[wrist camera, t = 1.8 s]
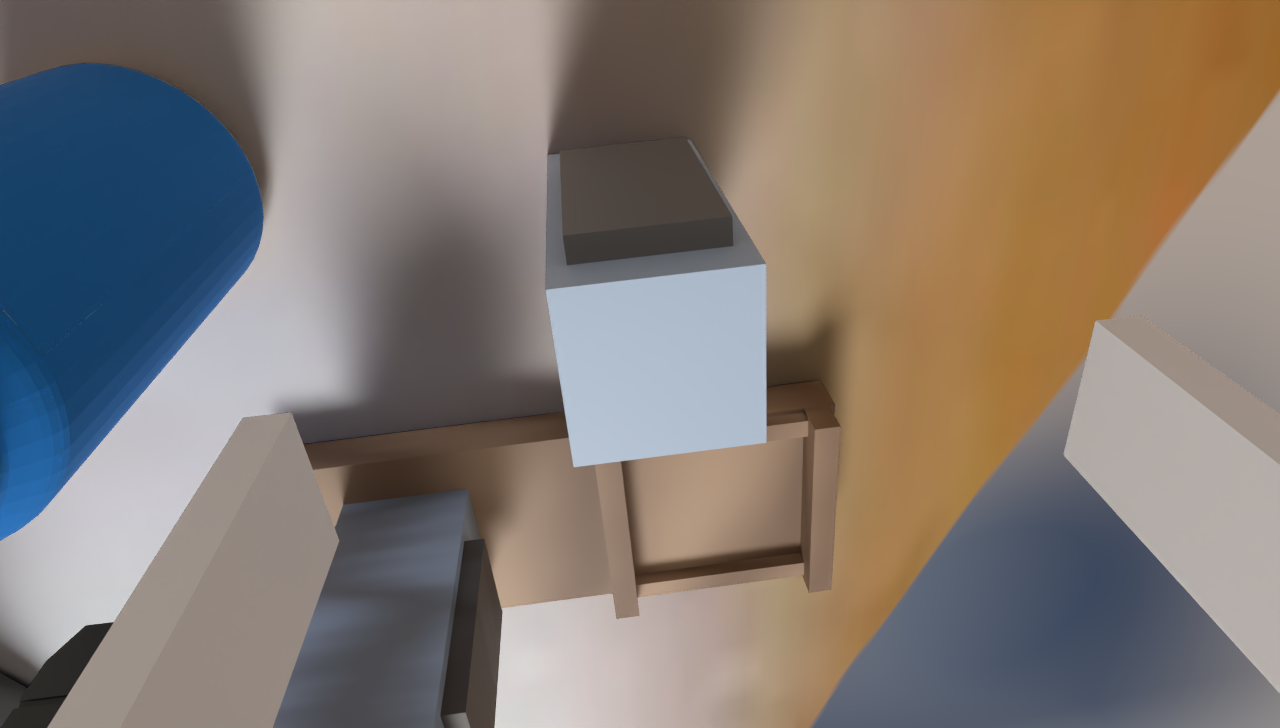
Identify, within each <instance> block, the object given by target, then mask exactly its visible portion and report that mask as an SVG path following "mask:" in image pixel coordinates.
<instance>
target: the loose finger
mask: <svg viewBox="0 0 1280 728" xmlns="http://www.w3.org/2000/svg"><path fill="white" fill-rule="evenodd" d="M545 290H546V296H547V303H548V309H549V315H550V321H551V328H552V334H553V340H554V347H555V353H556V359H557V366H558V372H559V378H560V384H561V391H562V397H563V403H564V410H565V416H566V422H567V429H568V435H569V441H570V447H571V454H572V460H573V466H574V467H580V466H588V465H596V464H604V463H612V462H619V461H627V460H635V459H643V458H651V457H659V456H667V455H674V454H682V453H690V452H698V451H706V450H714V449H722V448H730V447H737V446H745V445H753V444H761V443H766V263H765V261H764V260H763V258H762V256H761V255H760V253H759V251H758V250H757V248H756V246H755V245H754V243H753V242H752V240H751V238H750V237H749V235H748V233H747V232H746V230H745V228H744V227H743V225H742V223H741V222H740V220H739V219H738V217H737V215H736V214H735V212H734V210H733V209H732V207H731V205H730V204H729V202H728V200H727V199H726V197H725V196H724V194H723V192H722V191H721V189H720V187H719V186H718V184H717V182H716V181H715V179H714V177H713V176H712V174H711V173H710V171H709V169H708V168H707V166H706V164H705V163H704V161H703V159H702V158H701V156H700V154H699V153H698V151H697V150H696V148H695V146H694V145H693V143H692V141H691V140H690V139H686V137H679V138H670V139H661V140H652V141H642V142H633V143H624V144H615V145H606V146H597V147H588V148H579V149H570V150H560V153H559V154H550V155H547V220H546V288H545Z"/></svg>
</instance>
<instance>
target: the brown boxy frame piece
mask: <svg viewBox="0 0 1280 728" xmlns="http://www.w3.org/2000/svg"><path fill="white" fill-rule="evenodd" d="M834 410H835V404H834V402H833V401H832V399H831V397H830V395H829V394H828V392H827V390H826V388H825V387H824V385H823V383H822V381H821V380H819V381H811V382H803V383H795V384H787V385H779V386H771V387H766V443H761V444H753V445H745V446H737V447H730V448H722V449H714V450H706V451H698V452H690V453H682V454H674V455H667V456H659V457H651V458H643V459H635V460H627V461H619V462H612V463H604V464H596V465H588V466H580V467H574V466H573V460H572V454H571V447H570V441H569V435H568V429H567V422H566V416H565V412H561V413H553V414H545V415H537V416H529V417H521V418H513V419H505V420H497V421H488V422H480V423H472V424H464V425H456V426H448V427H440V428H432V429H424V430H416V431H408V432H400V433H392V434H384V435H375V436H367V437H359V438H351V439H343V440H335V441H327V442H319V443H311V444H303V445H304V447H305V450H306V453H307V455H308V458H309V461H310V463H311V466H312V469H313V472H314V474H315V477H316V480H317V482H318V485H319V488H320V490H321V493H322V496H323V498H324V501H325V504H326V506H327V509H328V512H329V514H330V517H331V520H332V522H333V525H334V528H335V530H336V533H337V536H338V538H339V543H338V546H337V549H336V551H335V554H334V557H333V560H332V563H331V565H330V568H329V571H328V574H327V577H326V580H325V582H324V585H323V588H322V591H321V594H320V596H319V599H318V602H317V605H316V608H315V610H314V613H313V616H312V619H311V622H310V624H309V627H308V630H307V633H306V636H305V638H304V641H303V644H302V647H301V650H300V652H299V655H298V658H297V661H296V664H295V666H294V669H293V672H292V675H291V678H290V680H289V683H288V686H287V689H286V692H285V694H284V697H283V700H282V703H281V706H280V708H279V711H278V714H277V717H276V720H275V722H274V725H273V728H494V724H495V710H496V696H497V681H498V667H499V653H500V638H501V624H502V609H501V608H505V607H513V606H520V605H528V604H535V603H542V602H550V601H557V600H565V599H572V598H580V597H587V596H595V595H602V594H610V593H613V597H614V604H615V611H616V618H617V619H619V618H626V617H633V616H639V608H638V600H637V597H644V596H652V595H659V594H666V593H674V592H681V591H689V590H696V589H704V588H711V587H719V586H726V585H733V584H741V583H748V582H756V581H763V580H771V579H778V578H785V577H793V576H800V575H803V578H804V581H805V583H806V586H807V589H808V591H809V593H811V592H818V591H825V590H831V588H832V570H833V552H834V534H835V517H836V499H837V481H838V463H839V446H840V428H841V426H840V425H839V423H838V421H837V419H836V418H835V416H834Z"/></svg>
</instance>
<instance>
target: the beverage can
mask: <svg viewBox="0 0 1280 728" xmlns="http://www.w3.org/2000/svg"><path fill="white" fill-rule="evenodd" d="M262 229H263V204H262V198H261V193H260V189H259V185H258V182H257V179H256V176H255V174H254V171H253V169H252V167H251V165H250V163H249V161H248V159H247V157H246V155H245V153H244V152H243V150H242V149H241V147H240V146H239V144H238V142H237V141H236V140H235V138H234V137H233V136H232V135H231V133H230V132H229V131H228V130H227V128H226V127H225V126H224V125H223V124H222V123H221V122H220V121H219V120H218V119H217V118H216V117H215V116H214V115H213V114H212V113H211V112H210V111H209V110H207V109H206V108H205V107H204V106H203V105H201V104H200V103H199V102H198V101H196V100H195V99H194V98H192V97H191V96H189V95H187V94H186V93H184V92H183V91H181V90H180V89H178V88H176V87H174V86H172V85H171V84H169V83H167V82H165V81H163V80H161V79H158V78H156V77H153V76H151V75H148V74H146V73H143V72H140V71H136V70H132V69H129V68H125V67H121V66H114V65H107V64H88V63H82V64H73V65H65V66H61V67H57V68H54V69H50V70H47V71H43V72H40V73H37V74H34V75H31V76H28V77H24V78H21V79H18V80H15V81H12V82H9V83H6V84H2V85H0V540H2V539H3V538H5V537H7V536H9V535H11V534H12V533H14V532H16V531H18V530H19V529H21V528H22V527H24V526H25V525H26V524H27V523H29V522H30V521H31V520H33V519H34V518H35V517H36V516H38V515H39V514H40V513H41V512H42V510H43V509H44V508H45V507H46V506H47V505H48V504H49V503H50V502H51V500H52V499H53V498H54V497H55V496H56V494H57V493H58V492H59V491H60V490H61V489H62V487H63V486H64V485H65V484H66V483H67V481H68V480H69V479H70V478H71V477H72V476H73V474H74V473H75V472H76V471H77V470H78V469H79V467H80V466H81V465H82V464H83V463H84V461H85V460H86V459H87V458H88V457H89V456H90V454H91V453H92V452H93V451H94V450H95V448H96V447H97V446H98V445H99V444H100V443H101V441H102V440H103V439H104V438H105V437H106V435H107V434H108V433H109V432H110V431H111V430H112V428H113V427H114V426H115V425H116V424H117V422H118V421H119V420H120V419H121V418H122V417H123V415H124V414H125V413H126V412H127V411H128V409H129V408H130V407H131V406H132V405H133V404H134V402H135V401H136V400H137V399H138V398H139V396H140V395H141V394H142V393H143V392H144V391H145V389H146V388H147V387H148V386H149V385H150V384H151V382H152V381H153V380H154V379H155V378H156V376H157V375H158V374H159V373H160V372H161V371H162V369H163V368H164V367H165V366H166V365H167V363H168V362H169V361H170V360H171V359H172V358H173V356H174V355H175V354H176V353H177V352H178V350H179V349H180V348H181V347H182V346H183V345H184V343H185V342H186V341H187V340H188V339H189V337H190V336H191V335H192V334H193V333H194V332H195V330H196V329H197V328H198V327H199V326H200V324H201V323H202V322H203V321H204V320H205V319H206V317H207V316H208V315H209V314H210V313H211V311H212V310H213V309H214V308H215V307H216V306H217V304H218V303H219V302H220V301H221V300H222V299H223V297H224V296H225V295H226V294H227V293H228V291H229V290H230V289H231V288H232V287H233V286H234V284H235V283H236V282H237V281H238V280H239V278H240V277H241V276H242V275H243V274H244V273H245V271H246V270H247V269H248V267H249V265H250V264H251V262H252V261H253V259H254V257H255V254H256V252H257V250H258V247H259V244H260V240H261V236H262Z"/></svg>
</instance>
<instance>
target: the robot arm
mask: <svg viewBox="0 0 1280 728" xmlns="http://www.w3.org/2000/svg"><path fill="white" fill-rule="evenodd" d="M1064 456H1065V457H1066V458H1067V459H1068V460H1069V461H1070V463H1071V464H1072V465H1073V466H1074V467H1075V468H1076V469H1077V470H1078V471H1079V473H1080V474H1081V475H1082V476H1083V477H1084V478H1085V479H1086V480H1087V481H1088V482H1089V484H1090V485H1091V486H1092V487H1093V488H1094V489H1095V490H1096V491H1097V492H1098V494H1099V495H1100V496H1101V497H1102V498H1103V499H1104V500H1105V501H1106V502H1107V503H1108V504H1109V506H1110V507H1111V508H1112V509H1113V510H1114V511H1115V512H1116V513H1117V514H1118V516H1119V517H1120V518H1121V519H1122V520H1123V521H1124V522H1125V523H1126V524H1127V525H1128V527H1129V528H1130V529H1131V530H1132V531H1133V532H1134V533H1135V534H1136V535H1137V537H1138V538H1139V539H1140V540H1141V541H1142V542H1143V543H1144V544H1145V545H1146V546H1147V547H1148V549H1149V550H1150V551H1151V552H1152V553H1153V554H1154V555H1155V556H1156V557H1157V559H1158V560H1159V561H1160V562H1161V563H1162V564H1163V565H1164V566H1165V567H1166V568H1167V569H1168V571H1169V572H1170V573H1171V574H1172V575H1173V576H1174V577H1175V578H1176V580H1177V581H1178V582H1179V583H1180V584H1181V585H1182V586H1183V587H1184V588H1185V589H1186V590H1187V592H1188V593H1189V594H1190V595H1191V596H1192V597H1193V598H1194V599H1195V600H1196V601H1197V603H1198V604H1199V605H1200V606H1201V607H1202V608H1203V609H1204V610H1205V612H1206V613H1207V614H1208V615H1209V616H1210V617H1211V618H1212V619H1213V620H1214V621H1215V623H1216V624H1217V625H1218V626H1219V627H1220V628H1221V629H1222V630H1223V631H1224V632H1225V634H1226V635H1227V636H1228V637H1229V638H1230V639H1231V640H1232V641H1233V642H1234V643H1235V645H1236V646H1237V647H1238V648H1239V649H1240V650H1241V651H1242V652H1243V653H1244V654H1245V655H1246V657H1247V658H1248V659H1249V660H1250V661H1251V662H1252V663H1253V664H1254V665H1255V667H1256V668H1257V669H1258V670H1259V671H1260V672H1261V673H1262V674H1263V675H1264V677H1266V679H1267V680H1268V681H1269V682H1270V683H1271V684H1272V685H1273V686H1274V687H1275V689H1276V690H1277V691H1278V692H1279V693H1280V414H1278V413H1277V412H1276V411H1274V410H1273V409H1272V408H1270V407H1269V406H1267V405H1266V404H1265V403H1263V402H1262V401H1260V400H1259V399H1257V398H1256V397H1255V396H1253V395H1252V394H1251V393H1249V392H1248V391H1246V390H1245V389H1243V388H1242V387H1241V386H1239V385H1238V384H1237V383H1235V382H1234V381H1232V380H1231V379H1229V378H1228V377H1227V376H1225V375H1224V374H1222V373H1221V372H1220V371H1218V370H1217V369H1215V368H1214V367H1212V366H1211V365H1210V364H1208V363H1207V362H1205V361H1204V360H1203V359H1201V358H1200V357H1199V356H1197V355H1196V354H1194V353H1193V352H1192V351H1190V350H1189V349H1187V348H1186V347H1184V346H1183V345H1182V344H1180V343H1179V342H1177V341H1176V340H1175V339H1173V338H1172V337H1170V336H1169V335H1168V334H1166V333H1165V332H1163V331H1162V330H1161V329H1159V328H1158V327H1156V326H1155V325H1154V324H1152V323H1151V322H1149V321H1148V320H1147V319H1145V318H1144V317H1142V316H1133V317H1125V318H1116V319H1107V320H1098V321H1095V325H1094V330H1093V334H1092V338H1091V342H1090V346H1089V351H1088V355H1087V359H1086V363H1085V367H1084V371H1083V376H1082V380H1081V384H1080V388H1079V393H1078V396H1077V401H1076V405H1075V409H1074V413H1073V417H1072V422H1071V426H1070V430H1069V434H1068V438H1067V442H1066V447H1065V451H1064ZM338 543H339V538H338V536H337V533H336V530H335V528H334V525H333V522H332V520H331V517H330V514H329V512H328V509H327V506H326V504H325V501H324V498H323V496H322V493H321V490H320V488H319V485H318V482H317V480H316V477H315V474H314V472H313V469H312V466H311V463H310V461H309V458H308V455H307V453H306V450H305V447H304V445H303V442H302V439H301V437H300V434H299V431H298V429H297V426H296V423H295V421H294V418H293V415H292V413H291V412H289V413H280V414H271V415H263V416H254V417H245V418H242V420H241V422H240V423H239V425H238V426H237V428H236V430H235V431H234V433H233V434H232V436H231V437H230V439H229V441H228V442H227V444H226V445H225V447H224V449H223V450H222V452H221V453H220V455H219V457H218V458H217V460H216V461H215V463H214V464H213V466H212V468H211V469H210V471H209V472H208V474H207V476H206V477H205V479H204V480H203V482H202V483H201V485H200V487H199V488H198V490H197V491H196V493H195V495H194V496H193V498H192V499H191V501H190V502H189V504H188V506H187V507H186V509H185V510H184V512H183V514H182V515H181V517H180V518H179V520H178V521H177V523H176V525H175V526H174V528H173V529H172V531H171V533H170V534H169V536H168V537H167V539H166V540H165V542H164V544H163V545H162V547H161V548H160V550H159V552H158V553H157V555H156V556H155V558H154V560H153V561H152V563H151V564H150V566H149V567H148V569H147V571H146V572H145V574H144V575H143V577H142V579H141V580H140V582H139V583H138V585H137V586H136V588H135V590H134V591H133V593H132V594H131V596H130V598H129V599H128V601H127V602H126V604H125V605H124V607H123V609H122V610H121V612H120V613H119V615H118V617H117V618H116V620H115V621H114V622H112V623H103V624H95V625H87V626H85V627H84V628H83V629H81V630H80V631H79V632H78V633H77V634H76V635H75V636H74V637H73V638H71V639H70V640H69V641H68V642H67V643H66V644H65V645H64V646H63V647H61V648H60V649H59V650H58V651H57V652H56V653H55V654H54V655H53V656H51V657H50V658H49V659H48V660H47V661H46V662H45V664H44V665H43V667H42V668H41V669H40V671H39V672H38V674H37V675H36V677H35V678H34V680H33V681H32V682H31V684H30V685H29V687H28V688H26V687H25V686H23V685H21V684H19V683H18V682H16V681H14V680H12V679H10V678H8V677H6V676H4V675H2V674H0V728H273V725H274V722H275V720H276V717H277V714H278V711H279V708H280V706H281V703H282V700H283V697H284V694H285V692H286V689H287V686H288V683H289V680H290V678H291V675H292V672H293V669H294V666H295V664H296V661H297V658H298V655H299V652H300V650H301V647H302V644H303V641H304V638H305V636H306V633H307V630H308V627H309V624H310V622H311V619H312V616H313V613H314V610H315V608H316V605H317V602H318V599H319V596H320V594H321V591H322V588H323V585H324V582H325V580H326V577H327V574H328V571H329V568H330V565H331V563H332V560H333V557H334V554H335V551H336V549H337V546H338Z"/></svg>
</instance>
